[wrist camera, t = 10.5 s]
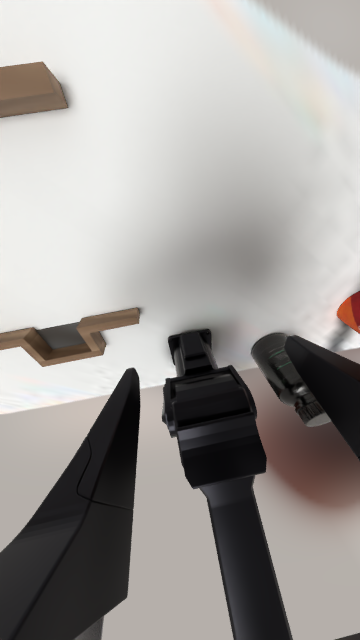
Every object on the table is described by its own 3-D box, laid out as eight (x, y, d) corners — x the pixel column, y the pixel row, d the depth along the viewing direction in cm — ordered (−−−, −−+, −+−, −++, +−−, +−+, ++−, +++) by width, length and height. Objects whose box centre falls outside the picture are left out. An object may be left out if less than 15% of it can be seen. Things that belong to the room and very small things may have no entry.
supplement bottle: (283, 354, 31) (341, 422, 22) (249, 362, 31) (292, 434, 22) (291, 327, 27) (367, 398, 18) (251, 337, 27) (306, 413, 18)
